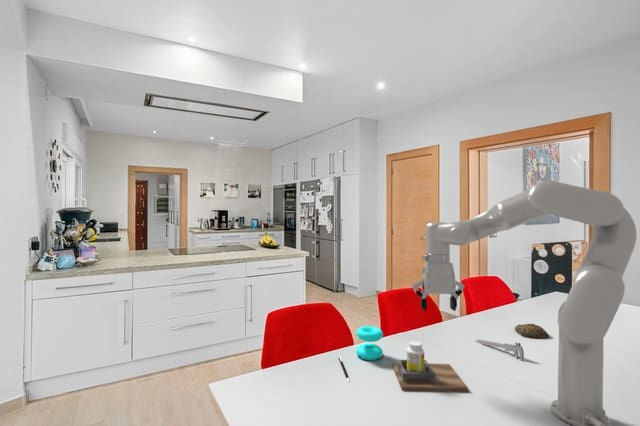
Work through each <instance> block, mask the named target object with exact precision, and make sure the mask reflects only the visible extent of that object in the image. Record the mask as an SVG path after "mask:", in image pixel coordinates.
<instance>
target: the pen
mask: <svg viewBox="0 0 640 426" xmlns="http://www.w3.org/2000/svg"><path fill="white" fill-rule="evenodd" d="M338 361H339V363H340V366H341V369H342V371H343V373H344V377H345V379H346V380H347V382H350V377H349V374H348V372H347V370H346V367H345V365H344V362H343V360H342V356H341V355H338Z"/></svg>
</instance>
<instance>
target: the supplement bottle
mask: <svg viewBox="0 0 640 426" xmlns="http://www.w3.org/2000/svg"><path fill="white" fill-rule="evenodd" d="M422 345H423V344H422V343H421V342H419V341H418V340H417V341H415V340H412V341H409V344H408V346H409V347H407V349H406V360H407V372H424V360H425V350H424V348H423V346H422Z"/></svg>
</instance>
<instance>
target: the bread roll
mask: <svg viewBox="0 0 640 426" xmlns="http://www.w3.org/2000/svg"><path fill="white" fill-rule="evenodd" d="M514 331H515V333H517V334H519V335H520V336H521V337H524V338H529V339H535V340H536V339H539V340H541V339H542V338H543V339H548V338H549V337H550V336H549V333H548V332H547V331H546V330H545V329H544V328H543V327H542V326H540V325H537V324H535V323H526V324H519V323H518V324H517V325H516V326H514Z"/></svg>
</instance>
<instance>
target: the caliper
mask: <svg viewBox="0 0 640 426" xmlns="http://www.w3.org/2000/svg"><path fill="white" fill-rule="evenodd" d="M474 342H476V343H478V344H481V345H485V346H489V347H495V348H500V349H504V351H505V352H512V353H513V355H514V357H515V359H519V360H520V361H523V360H525V359H524V357H525V355H524V353H525V352H524V348H523V346H522V345H521V342H515V343H514V344H513V343H506V342H505V343H500V342H497V341H489V340H485V339H480V338H479V339H477V340H474Z"/></svg>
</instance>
